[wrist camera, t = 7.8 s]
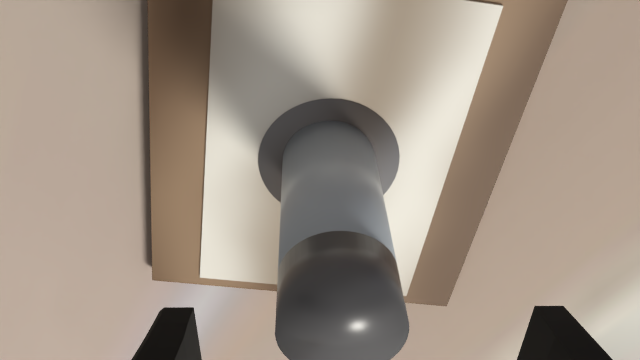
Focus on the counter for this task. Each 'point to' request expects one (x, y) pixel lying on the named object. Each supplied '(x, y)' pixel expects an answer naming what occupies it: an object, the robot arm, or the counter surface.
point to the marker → (336, 251)
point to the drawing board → (332, 105)
